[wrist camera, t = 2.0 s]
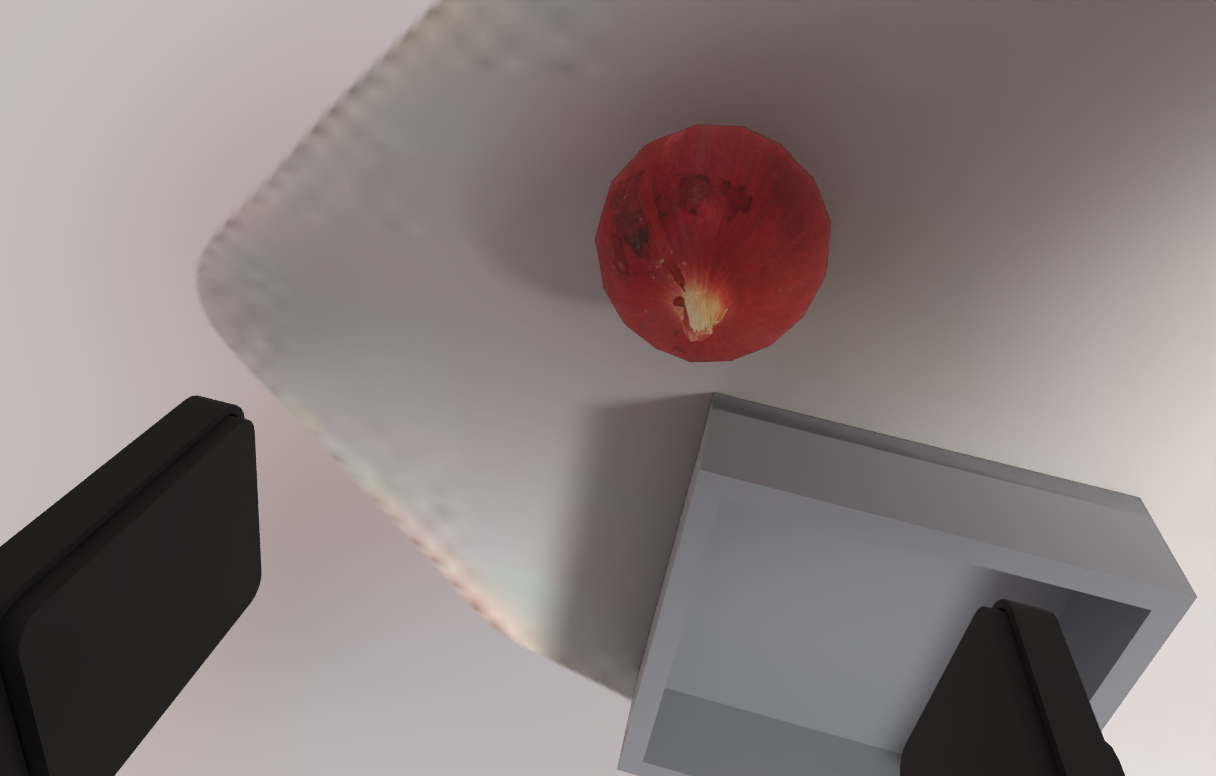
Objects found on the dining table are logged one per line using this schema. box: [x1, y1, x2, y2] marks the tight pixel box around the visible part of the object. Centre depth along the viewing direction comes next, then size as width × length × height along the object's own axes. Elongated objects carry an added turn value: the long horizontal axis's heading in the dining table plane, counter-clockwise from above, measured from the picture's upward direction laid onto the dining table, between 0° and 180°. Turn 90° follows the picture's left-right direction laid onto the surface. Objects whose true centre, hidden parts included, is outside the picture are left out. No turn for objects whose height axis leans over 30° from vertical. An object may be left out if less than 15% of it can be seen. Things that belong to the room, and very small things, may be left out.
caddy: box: [618, 393, 1197, 776], centre depth 29 cm, size 14×14×4 cm
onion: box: [595, 125, 831, 362], centre depth 21 cm, size 6×6×8 cm
